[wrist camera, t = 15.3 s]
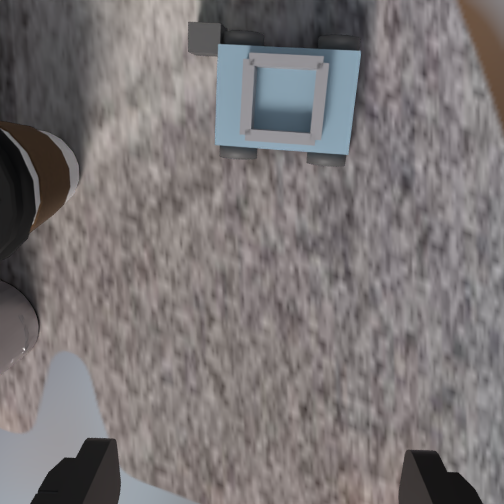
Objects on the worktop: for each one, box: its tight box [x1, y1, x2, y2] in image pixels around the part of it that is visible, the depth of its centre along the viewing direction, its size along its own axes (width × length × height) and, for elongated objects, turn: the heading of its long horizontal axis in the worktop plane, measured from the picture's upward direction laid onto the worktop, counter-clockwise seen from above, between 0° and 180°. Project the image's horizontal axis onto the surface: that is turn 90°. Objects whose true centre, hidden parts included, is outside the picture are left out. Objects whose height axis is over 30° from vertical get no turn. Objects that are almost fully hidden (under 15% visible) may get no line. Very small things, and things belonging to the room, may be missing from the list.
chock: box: [188, 22, 227, 56], centre depth 34 cm, size 2×2×2 cm
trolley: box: [215, 30, 361, 167], centre depth 33 cm, size 10×9×5 cm
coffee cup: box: [0, 121, 79, 260], centre depth 34 cm, size 11×11×12 cm
